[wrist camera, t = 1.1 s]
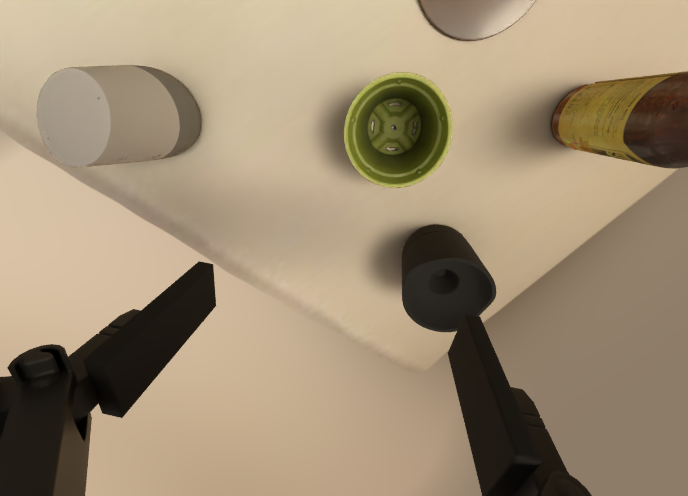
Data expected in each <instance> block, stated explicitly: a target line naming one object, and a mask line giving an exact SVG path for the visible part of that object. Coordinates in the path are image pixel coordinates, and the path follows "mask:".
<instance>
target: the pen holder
mask: <svg viewBox="0 0 688 496" xmlns="http://www.w3.org/2000/svg"><path fill="white" fill-rule="evenodd" d="M495 296H496V286H495V282H494V280H493V278H492V277H491V275H490V273H489V272H488V270H487V269H486V268H485V266H484V265H483V263H482V262H481V260H480V259H479V257H478V256H477V254H476V253H475V252H474V250H473V249H472V247H471V246H470V244H469V243H468V242H467V240H466V239H465V238H464V237H463V236H462V234H460V233H459V232H458V231H456V230H455V229H453V228H450V227H447V226H442V225H433V226H428V227H425V228H422V229H420V230H418V231H416V232H415V233H414V234H412V235H411V236H410V237H409V239H408V240H407V241H406V243H405V245H404V247H403V251H402V301H403V305H404V308H405V310H406V312H407V314H408V315H409V316H410V318H411V319H412V320H413V321H415V322H416V323H417V324H419V325H420V326H422V327H424V328H427V329H430V330H433V331H438V332H454V331H458V328H459V326H460V324H461V321H462V319H463V317H464V314H467V315H472V316H477V317H479V315H480V314H481V313H482V312H483V311H484V310H485V309H486V308H487V307H488V306H489V305H490V304H491V303H492V302H493V300H494V299H495Z"/></svg>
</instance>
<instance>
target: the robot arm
mask: <svg viewBox="0 0 688 496" xmlns="http://www.w3.org/2000/svg"><path fill="white" fill-rule="evenodd" d="M215 306H216V299H215V286H214V272H213V264H209V263H204V262H198V263H197V264H195V265H194V266H193V267H192V268H191V269H190V270H188V271H187V272H186V273H185V274H184V275H183V276H181V277H180V278H179V279H178V280H177V281H175V282H174V283H173V284H172V285H171V286H170V287H168V288H167V289H166V290H165V291H164V292H162V293H161V294H160V295H159V296H158V297H157V298H155V300H153V301H152V302H151V303H150V304H148V305H147V306H146V307H145V308H144V309H143V310H141V311H140V310H135V309H133V310H131V311H129V312H127V313H125V314H123V315H120V316H119V317H118V318H116V319H115V320H114V321H112V322H111V323H110V324H109V325H108V327H105V328H104V329H103V330H101V331H100V332H99V334H96V335H95V336H94V337H92V338H91V339H90V340H89V341H87V342H86V343H85V344H84V345H82V346H81V347H80V348H79V349H77V350H76V351H75V352H74V353H72V354H71V355H70V356H69V357H68V356H67V354H66V351H65V349H64V348H63V347H62V346H60V345H53V344H51V345H43V346H39V347H36V348H33V349H30V350H28V351H26V352H24V353H22V354H20V355H19V356H18V357H17V358H15V359H14V360H13V361H12V362H11V363H10V365H9V366H8V370H9V371H10V373H11V375H12V376H9V377H0V496H85V490H86V489H85V488H86V477H87V467H88V454H89V442H90V431H91V420H92V417H91V413H90V411H92V410H93V408H94V407H95V406H96V405H97V404H98V403H99V405H100V408H101V411H102V413H103V414H108V415H112V416H116V417H121V418H122V417H123V416H124V415H125V414H126V413H127V411H128V410H129V409H130V407H132V405H133V404H134V403H135V402H136V401H137V399H138V398H139V397H140V396H141V395H142V393H143V392H144V391H145V390H146V389H147V387H148V386H149V385H150V384H151V383H152V381H153V380H154V379H155V378H156V377H157V376H158V374H159V373H160V372H161V371H162V370H163V368H164V367H165V366H166V365H167V363H168V362H169V361H170V360H171V359H172V358H173V356H174V355H175V354H176V353H177V352H178V351H179V349H180V348H181V347H182V346H183V344H184V343H185V342H186V341H187V339H188V338H189V337H190V336H191V335H192V334H193V333H194V331H195V330H196V329H197V328H198V327H199V325H200V324H201V323H202V322H203V321H204V319H205V318H206V317H207V316H208V315H209V314H210V312H211V311H212V310H213V308H215ZM448 356H449V360H450V364H451V368H452V373H453V377H454V381H455V385H456V389H457V393H458V397H459V401H460V406H461V410H462V413H463V418H464V422H465V426H466V430H467V434H468V439H469V443H470V447H471V451H472V455H473V459H474V463H475V467H476V471H477V476H478V480H479V484H480V488H481V492H482V496H591V494H590V493H589V491H588V490H587V489H586V488H585V487H584V486H583V485H582V484H581V483H580V482H579V481H578V480H577V479H575V478H574V477H572V476H570V475H569V473H568V472H567V470H566V468H565V466H564V464H563V462H562V460H561V458H560V456H559V454H558V451H557V450H556V447H555V445H554V443H553V441H552V439H551V437H550V435H549V433H548V431H547V429H545V425H544V423H543V421H542V419H541V418H540V415H539V412H538V410H537V408H536V406H535V405H534V402H533V401H532V400H531V399H530V398H529V396H528V395H527V394H526V393H525V392H524V391H523V390H522V389H517V388H513V387H510V385H509V383H508V380H507V378H506V376H505V374H504V372H503V369H502V367H501V364H500V362H499V360H498V358H497V355H496V353H495V351H494V348H493V346H492V344H491V341H490V339H489V337H488V334H487V332H486V330H485V327H484V325H483V323H482V320H481V318H480V317H477V316H472V315H467V314H464V317H463V319H462V321H461V324H460V326H459V328H458V331H457V333H456V335H455V338H454V340H453V342H452V345H451V347H450V349H449V352H448Z"/></svg>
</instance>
